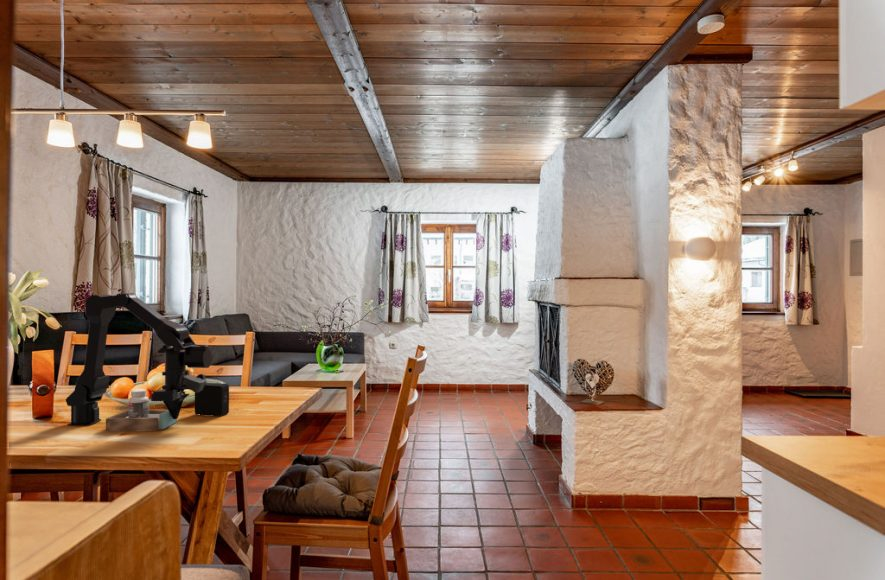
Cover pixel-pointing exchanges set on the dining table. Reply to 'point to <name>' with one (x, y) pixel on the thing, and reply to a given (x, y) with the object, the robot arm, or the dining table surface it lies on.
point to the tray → (163, 419)
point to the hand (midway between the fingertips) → (175, 418)
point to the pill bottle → (138, 404)
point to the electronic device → (212, 400)
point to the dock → (132, 422)
